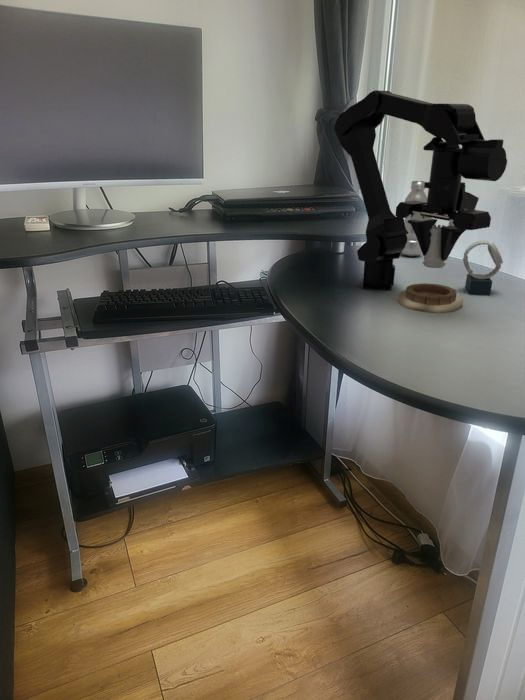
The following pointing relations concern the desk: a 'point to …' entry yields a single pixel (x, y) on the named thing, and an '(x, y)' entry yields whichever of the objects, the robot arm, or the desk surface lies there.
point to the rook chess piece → (434, 249)
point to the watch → (478, 282)
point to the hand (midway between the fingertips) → (434, 257)
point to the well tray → (430, 298)
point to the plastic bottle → (412, 243)
